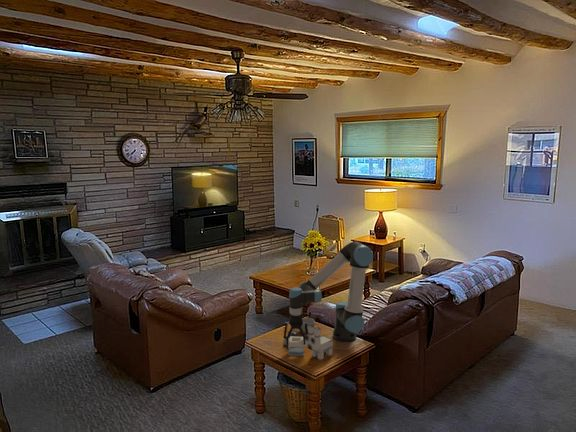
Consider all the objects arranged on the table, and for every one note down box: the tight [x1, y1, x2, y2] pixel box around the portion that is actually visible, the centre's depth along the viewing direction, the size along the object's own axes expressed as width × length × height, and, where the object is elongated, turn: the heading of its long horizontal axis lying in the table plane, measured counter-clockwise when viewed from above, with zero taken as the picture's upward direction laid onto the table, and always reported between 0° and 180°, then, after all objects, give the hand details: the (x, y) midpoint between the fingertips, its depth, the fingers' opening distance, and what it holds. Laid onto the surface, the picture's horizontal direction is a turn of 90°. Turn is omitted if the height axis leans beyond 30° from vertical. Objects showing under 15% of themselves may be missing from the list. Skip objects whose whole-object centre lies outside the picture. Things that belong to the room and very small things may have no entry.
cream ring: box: [289, 336, 303, 348], centre depth 258 cm, size 8×8×3 cm
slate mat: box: [288, 347, 305, 357], centre depth 259 cm, size 9×10×1 cm
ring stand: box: [283, 329, 299, 348], centre depth 271 cm, size 11×11×12 cm
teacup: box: [301, 316, 316, 334], centre depth 289 cm, size 14×11×8 cm
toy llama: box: [304, 325, 333, 362], centre depth 252 cm, size 8×18×20 cm, turn 131°
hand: (296, 349), depth 259 cm, fingers closed on cream ring, 8 cm apart
